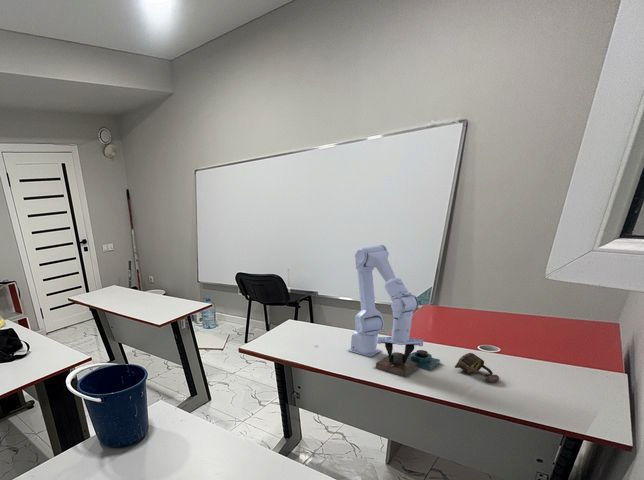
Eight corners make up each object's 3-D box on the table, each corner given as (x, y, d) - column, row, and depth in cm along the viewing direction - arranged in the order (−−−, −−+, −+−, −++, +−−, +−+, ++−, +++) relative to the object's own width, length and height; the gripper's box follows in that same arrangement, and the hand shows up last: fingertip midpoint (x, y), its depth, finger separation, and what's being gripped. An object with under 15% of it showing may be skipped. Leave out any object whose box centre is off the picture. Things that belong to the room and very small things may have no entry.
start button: (414, 356, 138) (414, 352, 137) (418, 353, 140) (419, 349, 139) (424, 358, 135) (424, 354, 134) (428, 355, 137) (429, 351, 136)
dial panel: (375, 368, 139) (376, 362, 138) (387, 360, 143) (388, 354, 142) (405, 377, 130) (406, 370, 129) (417, 369, 135) (418, 362, 134)
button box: (401, 362, 141) (402, 354, 139) (411, 356, 144) (412, 348, 143) (429, 370, 133) (431, 362, 131) (439, 363, 137) (441, 355, 135)
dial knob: (391, 364, 135) (392, 355, 134) (390, 360, 138) (391, 351, 137) (403, 365, 133) (404, 356, 132) (402, 361, 137) (404, 352, 135)
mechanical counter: (483, 352, 129) (454, 348, 130) (510, 364, 117) (479, 360, 118) (475, 370, 132) (447, 367, 132) (502, 384, 119) (471, 380, 120)
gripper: (379, 331, 131) (375, 364, 136) (426, 333, 124) (420, 368, 129) (378, 324, 136) (375, 356, 141) (424, 326, 130) (418, 360, 135)
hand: (397, 361), depth 136 cm, fingers closed on dial knob, 4 cm apart
